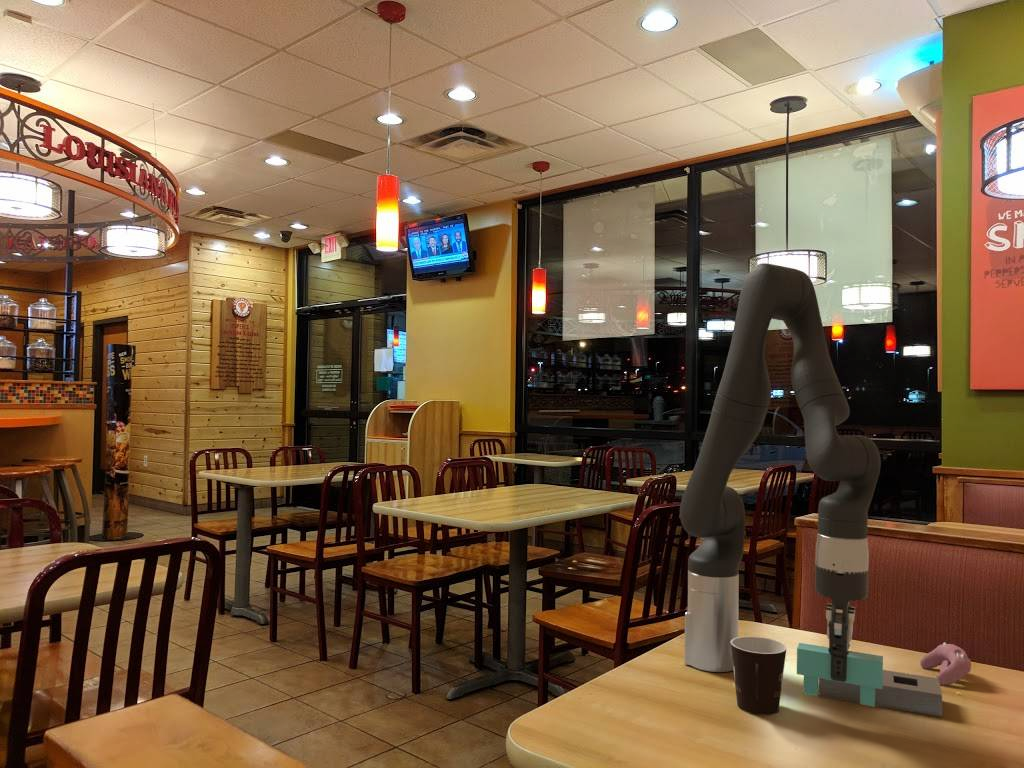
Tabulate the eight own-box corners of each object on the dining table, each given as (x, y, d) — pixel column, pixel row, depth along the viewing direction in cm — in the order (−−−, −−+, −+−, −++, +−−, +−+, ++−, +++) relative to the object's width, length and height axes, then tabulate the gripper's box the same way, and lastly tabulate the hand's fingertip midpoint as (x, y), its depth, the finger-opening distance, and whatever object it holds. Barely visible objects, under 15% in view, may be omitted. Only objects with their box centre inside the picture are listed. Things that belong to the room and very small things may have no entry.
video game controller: (961, 696, 130) (981, 662, 130) (935, 683, 131) (955, 648, 130) (940, 676, 140) (958, 644, 139) (916, 663, 141) (934, 631, 140)
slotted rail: (818, 696, 126) (818, 675, 126) (822, 680, 133) (822, 660, 133) (942, 717, 118) (942, 695, 118) (938, 699, 125) (938, 678, 125)
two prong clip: (796, 693, 116) (797, 648, 117) (798, 686, 119) (799, 642, 119) (882, 709, 111) (882, 662, 111) (882, 702, 114) (883, 656, 114)
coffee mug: (746, 692, 127) (746, 633, 127) (795, 707, 121) (795, 645, 121) (710, 711, 119) (710, 648, 119) (761, 729, 112) (761, 662, 113)
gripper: (819, 553, 123) (816, 658, 123) (811, 570, 111) (808, 687, 111) (869, 558, 120) (867, 666, 120) (867, 577, 107) (864, 697, 107)
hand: (839, 675), depth 115 cm, fingers closed on two prong clip, 3 cm apart
